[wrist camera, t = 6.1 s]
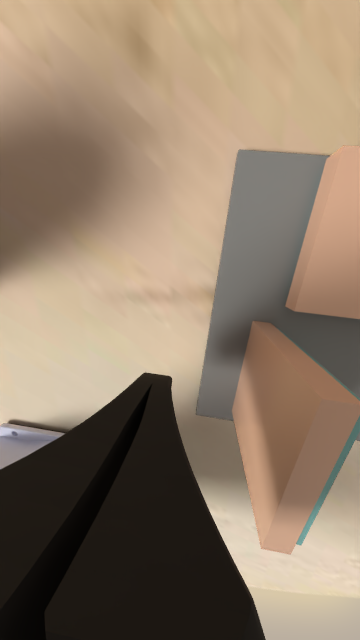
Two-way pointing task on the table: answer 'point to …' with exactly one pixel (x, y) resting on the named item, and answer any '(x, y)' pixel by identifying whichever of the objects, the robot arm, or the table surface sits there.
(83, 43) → the table surface
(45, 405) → the table surface
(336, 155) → the tile
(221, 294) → the mat
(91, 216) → the table surface
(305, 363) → the tile
